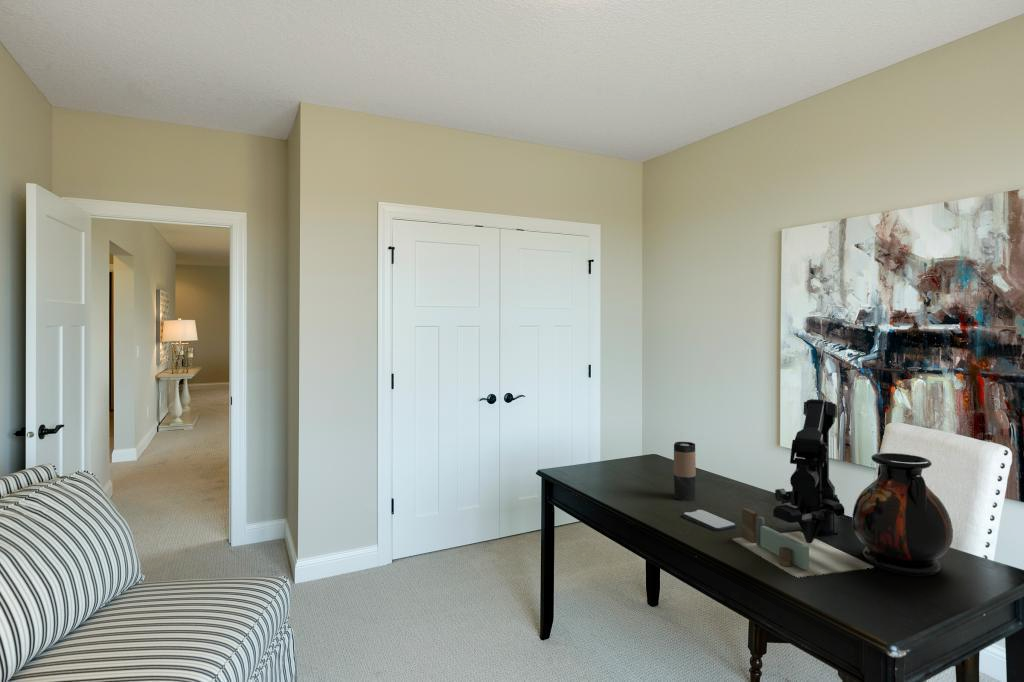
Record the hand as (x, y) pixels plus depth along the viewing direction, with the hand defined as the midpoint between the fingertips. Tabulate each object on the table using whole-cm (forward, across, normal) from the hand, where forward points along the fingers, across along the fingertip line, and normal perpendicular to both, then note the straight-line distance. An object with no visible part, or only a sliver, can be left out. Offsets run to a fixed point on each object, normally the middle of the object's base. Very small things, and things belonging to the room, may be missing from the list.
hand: (808, 542), depth 148 cm
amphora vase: (+5, -21, +9) cm, 23 cm away
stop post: (+5, +8, 0) cm, 10 cm away
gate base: (+5, -2, -5) cm, 8 cm away
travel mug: (+5, -3, -58) cm, 59 cm away
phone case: (+6, +5, -35) cm, 35 cm away
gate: (+4, +6, -4) cm, 8 cm away
